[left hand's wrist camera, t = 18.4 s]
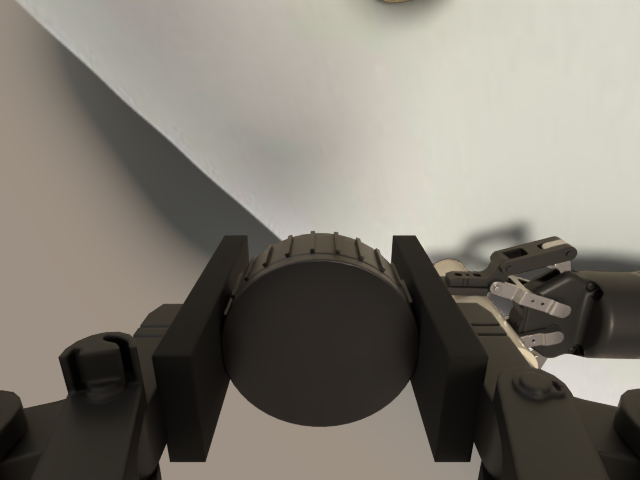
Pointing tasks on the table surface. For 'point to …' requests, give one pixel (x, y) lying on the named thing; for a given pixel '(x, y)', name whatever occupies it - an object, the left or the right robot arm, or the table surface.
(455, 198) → the table surface
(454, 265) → the jar
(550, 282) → the right robot arm
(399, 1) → the sculpture
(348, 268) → the lid
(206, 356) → the left robot arm
